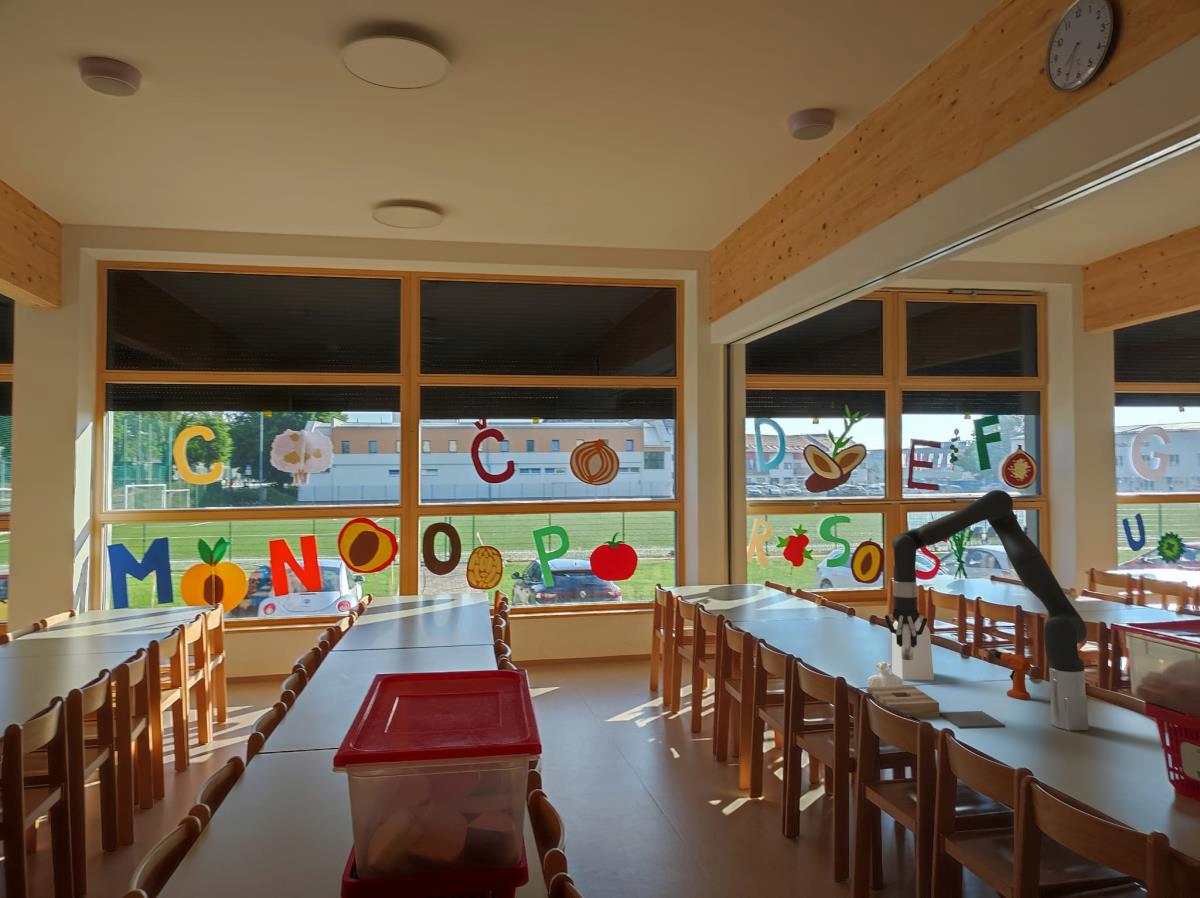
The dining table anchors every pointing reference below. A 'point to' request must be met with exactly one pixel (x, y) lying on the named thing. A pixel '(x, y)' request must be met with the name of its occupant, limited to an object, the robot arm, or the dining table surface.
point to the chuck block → (906, 700)
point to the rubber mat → (971, 719)
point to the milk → (914, 657)
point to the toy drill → (1015, 673)
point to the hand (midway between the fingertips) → (906, 646)
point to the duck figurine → (884, 677)
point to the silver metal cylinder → (906, 642)
